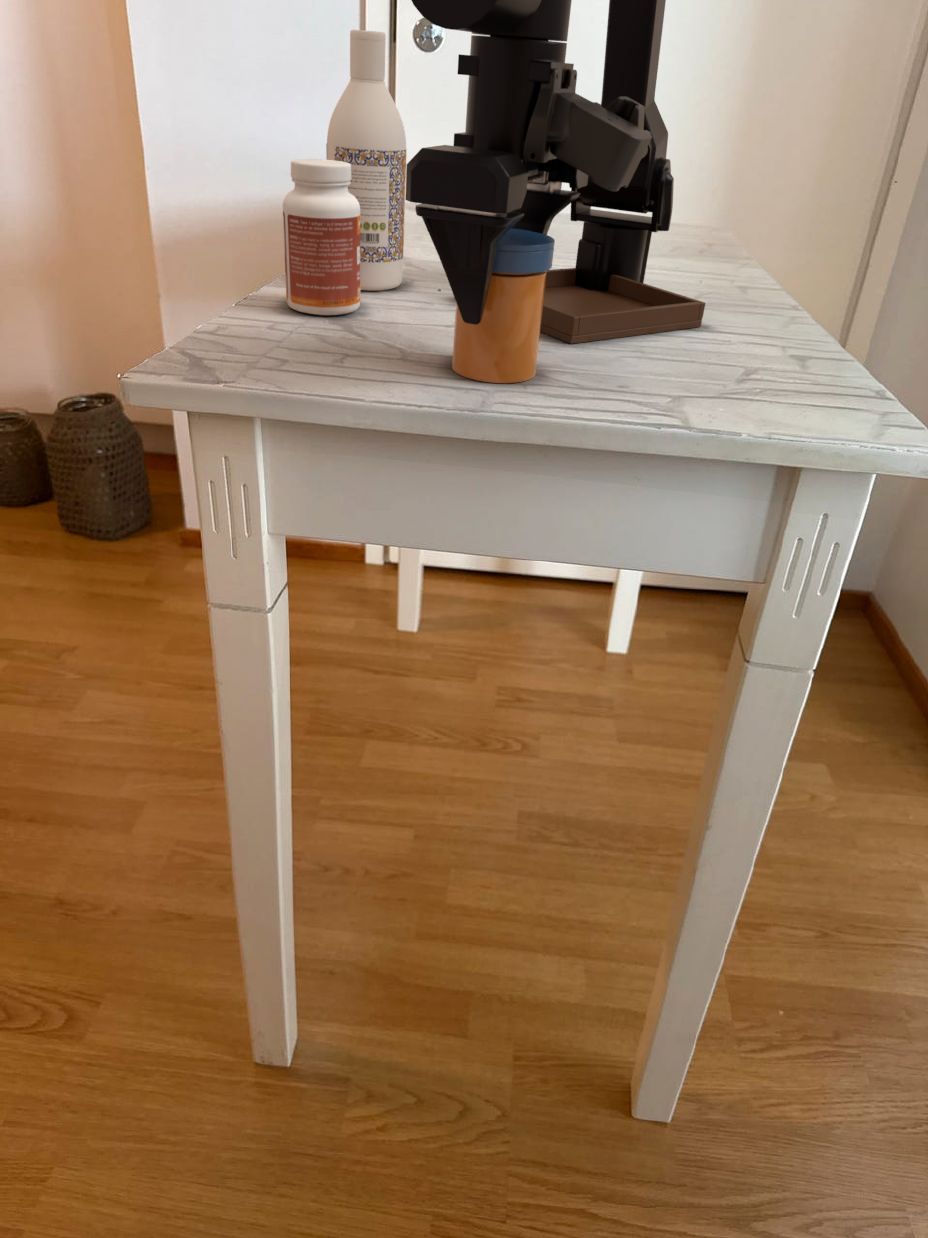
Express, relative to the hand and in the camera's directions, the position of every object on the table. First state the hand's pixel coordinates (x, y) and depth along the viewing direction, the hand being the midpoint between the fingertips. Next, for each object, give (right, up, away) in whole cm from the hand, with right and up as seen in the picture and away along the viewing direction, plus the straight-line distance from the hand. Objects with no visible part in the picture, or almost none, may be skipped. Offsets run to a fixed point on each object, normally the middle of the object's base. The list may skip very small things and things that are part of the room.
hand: (495, 309), depth 61 cm
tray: (+8, +6, +19) cm, 22 cm away
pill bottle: (-14, +5, +14) cm, 21 cm away
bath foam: (-12, +10, +23) cm, 28 cm away
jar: (0, -3, +3) cm, 4 cm away
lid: (+1, +4, -2) cm, 4 cm away
